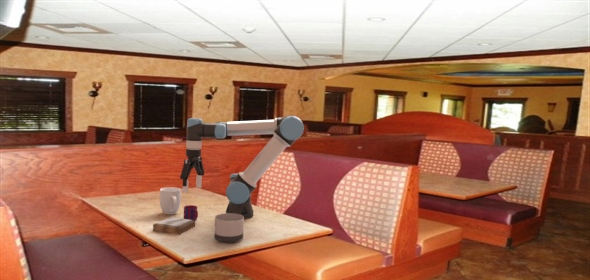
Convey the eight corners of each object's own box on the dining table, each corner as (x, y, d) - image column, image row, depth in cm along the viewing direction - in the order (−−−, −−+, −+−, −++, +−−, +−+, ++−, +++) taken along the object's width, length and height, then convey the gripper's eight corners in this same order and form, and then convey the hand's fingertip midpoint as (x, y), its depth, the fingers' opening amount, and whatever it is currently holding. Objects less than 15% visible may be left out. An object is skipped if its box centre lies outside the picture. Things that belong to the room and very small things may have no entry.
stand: (194, 226, 207) (195, 219, 207) (179, 234, 194) (179, 227, 194) (169, 223, 211) (169, 216, 211) (153, 230, 198) (153, 223, 197)
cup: (193, 217, 224) (194, 204, 223) (201, 222, 216) (202, 209, 215) (181, 218, 220) (181, 206, 219) (189, 223, 212) (189, 210, 211)
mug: (185, 216, 225) (186, 192, 224) (164, 218, 219) (165, 193, 218) (176, 209, 237) (177, 186, 236) (156, 211, 231) (157, 188, 230)
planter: (224, 233, 199) (224, 211, 198) (248, 238, 194) (249, 216, 193) (208, 241, 187) (209, 218, 186) (233, 246, 182) (234, 222, 181)
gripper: (199, 146, 228) (197, 185, 230) (173, 150, 204) (172, 193, 206) (211, 147, 226) (210, 186, 228) (187, 151, 202) (186, 195, 204)
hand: (192, 190), depth 217 cm, fingers open, 13 cm apart
